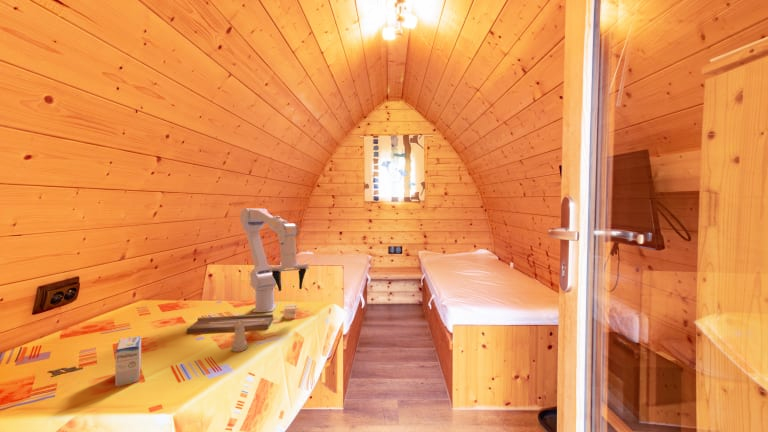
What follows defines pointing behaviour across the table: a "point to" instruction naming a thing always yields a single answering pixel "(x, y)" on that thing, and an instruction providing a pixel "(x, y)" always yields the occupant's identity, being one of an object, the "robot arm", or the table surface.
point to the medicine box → (128, 361)
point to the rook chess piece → (239, 337)
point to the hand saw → (58, 372)
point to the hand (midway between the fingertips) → (290, 289)
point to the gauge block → (290, 311)
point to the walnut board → (230, 323)
